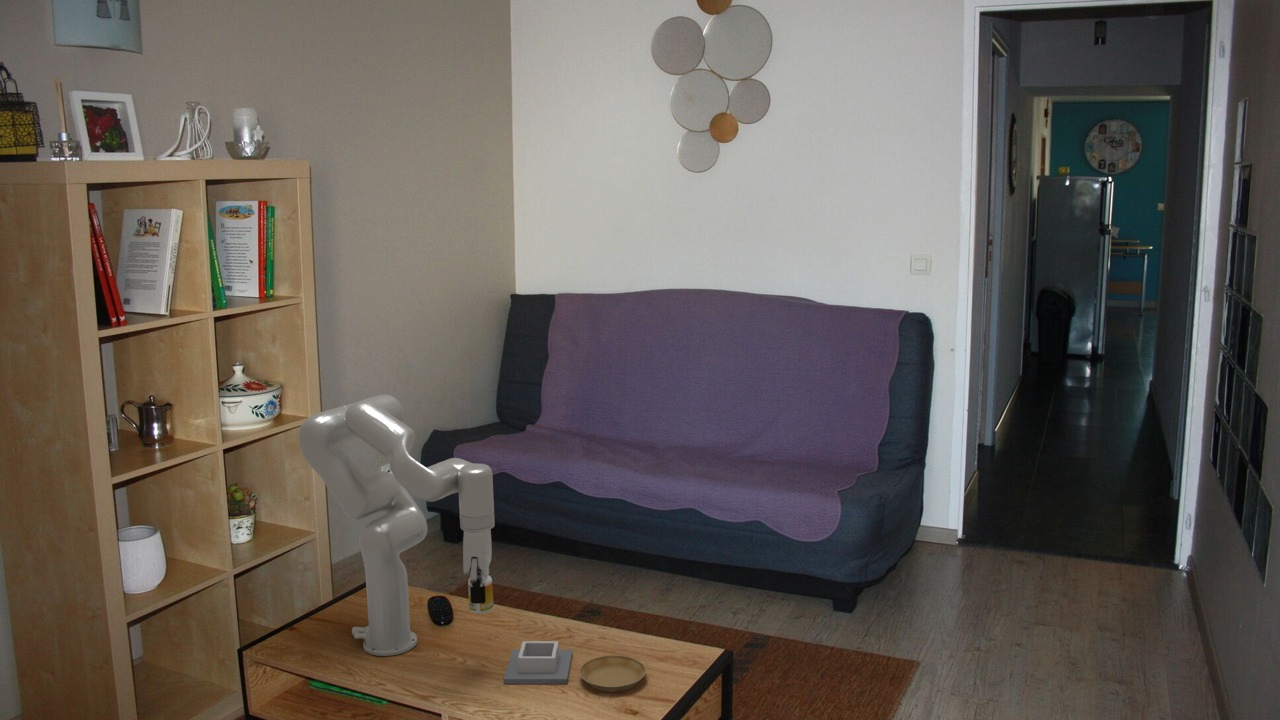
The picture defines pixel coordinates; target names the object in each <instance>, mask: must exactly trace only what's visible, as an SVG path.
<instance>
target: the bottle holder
mask: <svg viewBox="0 0 1280 720" xmlns="http://www.w3.org/2000/svg"><path fill="white" fill-rule="evenodd" d="M572 658H573V649H560V648H559V641H550V640H549V641H544V640H543V641H541V640H540V641H536V640H535V641H534V640H533V641H532V640H531V641H528V640H527V641H526V640H525V641H522V643H521V645H520V649H512V650H511V653H510V656H509V660H508V663H507V667H506V670H505V673H504V677H503V685H568V681H569V675H570V670H571V664H572Z"/></svg>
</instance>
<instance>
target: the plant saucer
mask: <svg viewBox="0 0 1280 720" xmlns="http://www.w3.org/2000/svg"><path fill="white" fill-rule="evenodd" d="M646 668H647V667H646V666H645V664H644V663H643V662H642V661H640V660H638V659H636V658H634V657H630V656H626V655H618V654H617V655H615V654H614V655H612V654H611V655H602V656H597V657H594V658H592V659H588V660H587V661H586V662H584V663H583V664H582V665H581V666H580V668H579V671H578V672H579V675H580V678H582V680H583V681H584V682H585V683H586V684H587V685H588V686H590V687H591V688H593V689H595V690H597V691H601V692H604V693H619V692H620V691H621V692H625V691H628V690H630V689H632V688H633V687H635V686H636V685H637V684H638V683H640V682H641V681H642V679H643V678H644V677H645V675H646V673H647V669H646Z"/></svg>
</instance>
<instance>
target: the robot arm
mask: <svg viewBox="0 0 1280 720" xmlns="http://www.w3.org/2000/svg"><path fill="white" fill-rule="evenodd" d="M404 414H405V413H404V408H403V406H402V404H401V402H400V401H399V399H397V398H396V397H394V396H392V395H390V394H383V393H382V394H379V395H375V396H371V397H368V398H364V399H360V400H357V401H356V402H353V403H349V404H345V405H341V406H338V407H335V408H331V409H326V410H324V411H321V412H317V413H315V414H313V415H311V416H309V417H307V419H305V420H304V421H303V422H302V424H301V425H300V427H299V429H298V434H297V435H298V436H297V437H298V440H297V441H298V446H299V450H300V452H301V455H302V456H303V459H304V460H305V461H306V463H307V464H308V466H310V467H311V468H312V470H313V471H314V472H316V474H317V475H318V476H319V477H320V478H321V480H322V482H324V483H325V485H326V486H325V487H327V489H328V490H329V492H330V493H331V495H332V497H334V499H335V501H336V502H337V504H338V505H339V506H340V508H341V509H342V512H343V513H344V514H345V515H346V516H347V517H348V518H349V519H350V520H352V521H356V522H358V521H364V520H367V519H369V518H372V517H374V516H376V515H379V514H381V513H382V514H383V516H380V517H378V518H376V519H373V520H372V521H369V523H367V524H366V525H365V526H364V527H362V530H361V532H360V533H359V535H358V536H359V537H358V544H359V549H360V552H361V556H362V557H361V558H362V561H363V565H364V573H365V587H366V601H367V615H368V616H367V619H368V625H365V627H362V626H352V629H351V635H352V636H353V637H354V639H355V640H359V639H360V640H361V639H363V642H362V643H363V645H362V646H363V647H362V648H363V650H364V652H366V653H367V654H370V655H373V656H378V657H390V656H391V657H392V656H397V655H401V654H404V653H406V652H409V651H410V650H412V649H414V647H416V646H417V644H418V636H417V633H415V632H414V631H411V623H410V622H411V619H410V601H409V600H410V599H409V583H408V573H407V572H408V571H407V569H406V568H407V567H406V566H405V563H403V561H402V559H401V558H400V554H401V553H403V552H405V551H407V550H409V549H410V548H412V547H415V546H416V545H418V544H419V543H421V542H422V541H424V539H425V538H426V536H427V533H428V523H427V520H426V518H425V515H424V513H423V512H422V510H421V509H420V508H419V506H418V505H417V503H416V501H415V500H414V498H413V497H412V495H414V496H415V497H417V498H418V499H419V500H422V501H425V502H431V503H432V502H436V501H439V500H442V499H444V498H446V497H448V496H450V495H452V494H457V493H458V508H459V524H460V525H459V527H460V529H461V531H463V540H462V556H463V558H462V564H463V565H462V571H463V574H464V575H468V574H469V572H470V574H469V575H470V576H469V578H470V595H471V603H485V602H486V597H485V585H483V583H484V573H485V572H486V571H487V569H489V570H490V564H491V561H492V555H493V553H492V548H493V547H492V546H493V545H492V531H491V529H493V528H494V527H495V526H496V525H495V523H496V522H495V506H494V505H495V502H494V483H493V481H494V479H493V478H494V477H493V470H492V468H491V466H489V465H488V464H485V463H472V462H470V461H468V460H465V459H462V458H458V457H451V458H448V459H446V460H445V459H444V460H443V461H440V462H437V463H435V464H432V465H430V466H427V467H426V466H424V465H423V464H421V463H420V462H419V461H417V460H416V459H415V458H413V457H412V456H411V454H410V452H411V450H412V448H413V446H414V443H415V439H416V433H415V431H414V430H413V429H412V427H410V426H409V425H407V424H406V423H404V422H403V418H404V416H405V415H404ZM358 438H359V439H360V440H361V441H363V442H364V443H366V445H369V446H370V447H371V448H373V449H374V450H376V451H377V453H378V452H379V453H380V454H381V455H383V456H384V457H385V458H386V459H387V460H389V467H390V470H391V473H390V472H388V471H381V470H380V471H375V472H373V473H370V474H368V475H367V474H365V473H364V472H363V471H362V470H361V468H360V467H359V465H358V464H357V462H356V461H355V460H354V459H353V458H352V457H351V456H350V455H349V454H347V453H346V452H344V451H342V450H341V449H339V448H337V446H338V445H340V444H344V443H346V442H349V441H353V440H355V439H358ZM411 494H412V495H411ZM478 570H481V572H477V571H478ZM477 575H480V579H479V578H478V577H477ZM488 575H489V576H490V577H491V575H490V574H488Z"/></svg>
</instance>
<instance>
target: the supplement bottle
mask: <svg viewBox="0 0 1280 720" xmlns="http://www.w3.org/2000/svg"><path fill="white" fill-rule="evenodd" d="M477 572H481V570H478V571H477ZM489 575H490V568H489V569H487V571H486V572H485V573H484V583H483V585H485V597H486V602H485V603H471V595H470V577H469V578H468V580H467V587H468V588H467V590H468V607H469V611H470V612H471V613H473V614H476V615H477V614H479V615H480V614H486V613H487V614H488V613H489V612H491V611H492V610H493V609H494V595H493V594H494V591H493V578H492V576H491V575H490V576H489ZM477 577H478V578H479V579H480V575H477Z"/></svg>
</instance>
